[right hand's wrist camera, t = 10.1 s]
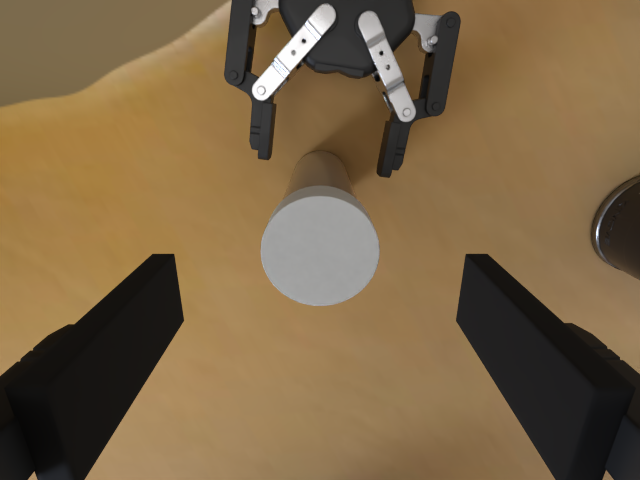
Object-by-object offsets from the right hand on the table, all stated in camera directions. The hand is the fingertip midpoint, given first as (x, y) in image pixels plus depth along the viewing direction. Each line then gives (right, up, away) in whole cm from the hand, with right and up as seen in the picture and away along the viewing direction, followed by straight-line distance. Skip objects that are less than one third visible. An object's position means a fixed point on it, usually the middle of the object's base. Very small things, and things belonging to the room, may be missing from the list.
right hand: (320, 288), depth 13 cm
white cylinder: (0, +1, +3) cm, 4 cm away
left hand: (0, +7, +13) cm, 15 cm away
